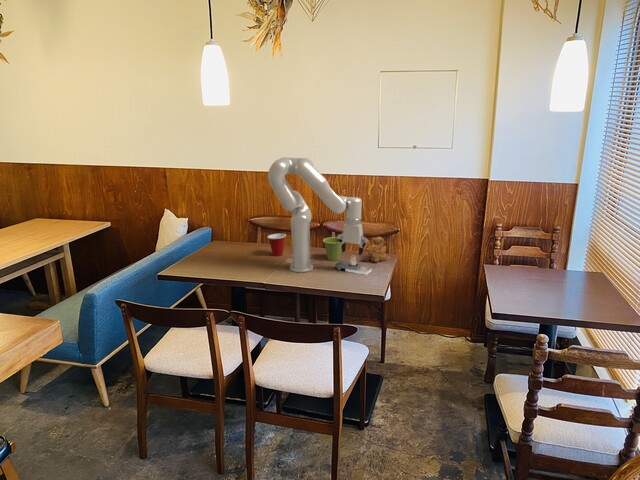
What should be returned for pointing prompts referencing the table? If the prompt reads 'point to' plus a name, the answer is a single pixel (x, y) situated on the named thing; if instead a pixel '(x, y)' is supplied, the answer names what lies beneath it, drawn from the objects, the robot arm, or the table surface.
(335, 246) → the plant pot
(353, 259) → the steel pin
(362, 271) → the gray white flat block
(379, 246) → the teddy bear
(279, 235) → the plastic cup
